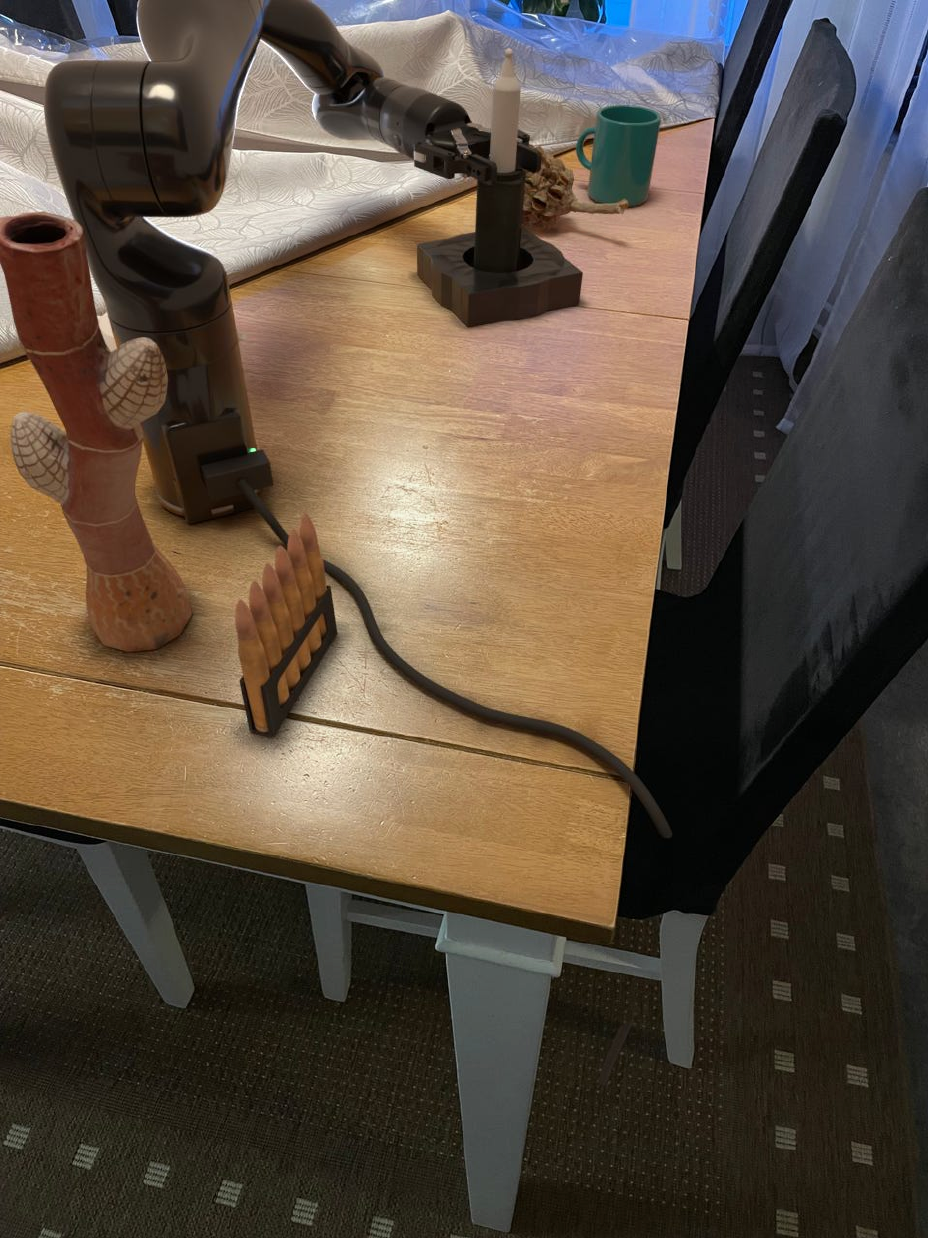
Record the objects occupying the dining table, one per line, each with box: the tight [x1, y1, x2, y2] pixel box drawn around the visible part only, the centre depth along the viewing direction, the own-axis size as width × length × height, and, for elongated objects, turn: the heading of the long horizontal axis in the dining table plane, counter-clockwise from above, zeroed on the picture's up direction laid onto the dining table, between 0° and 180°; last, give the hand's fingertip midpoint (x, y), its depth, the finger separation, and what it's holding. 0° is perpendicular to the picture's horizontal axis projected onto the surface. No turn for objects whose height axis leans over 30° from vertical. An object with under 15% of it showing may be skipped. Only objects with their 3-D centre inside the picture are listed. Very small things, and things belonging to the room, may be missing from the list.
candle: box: [474, 48, 526, 273], centre depth 99 cm, size 5×5×25 cm
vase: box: [0, 211, 193, 653], centre depth 56 cm, size 10×7×30 cm
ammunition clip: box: [234, 512, 338, 738], centre depth 59 cm, size 11×2×12 cm, turn 162°
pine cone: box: [522, 143, 629, 230], centre depth 119 cm, size 22×10×10 cm, turn 65°
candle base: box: [416, 225, 584, 328], centre depth 107 cm, size 16×16×4 cm
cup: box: [575, 104, 662, 208], centre depth 128 cm, size 9×12×11 cm
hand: (516, 168), depth 97 cm, fingers closed on candle, 6 cm apart
